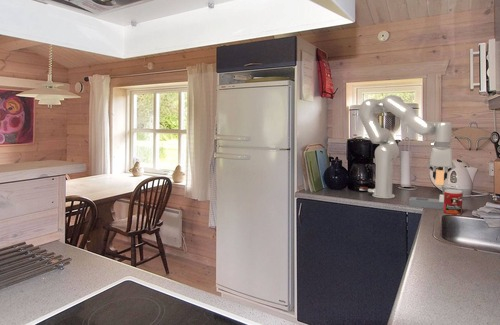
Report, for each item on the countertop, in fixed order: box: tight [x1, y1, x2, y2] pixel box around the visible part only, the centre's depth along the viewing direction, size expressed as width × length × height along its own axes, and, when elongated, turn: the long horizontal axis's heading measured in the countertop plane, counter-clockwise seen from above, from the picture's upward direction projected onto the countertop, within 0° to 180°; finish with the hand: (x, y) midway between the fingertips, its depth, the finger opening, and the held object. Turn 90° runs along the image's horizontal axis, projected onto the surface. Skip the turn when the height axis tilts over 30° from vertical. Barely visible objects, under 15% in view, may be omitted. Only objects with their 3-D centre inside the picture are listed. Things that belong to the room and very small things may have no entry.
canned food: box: [443, 188, 464, 216], centre depth 165 cm, size 8×8×11 cm
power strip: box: [408, 193, 444, 211], centre depth 178 cm, size 20×8×6 cm, turn 59°
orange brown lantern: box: [434, 167, 445, 187], centre depth 183 cm, size 4×4×10 cm
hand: (439, 179), depth 183 cm, fingers closed on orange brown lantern, 4 cm apart
